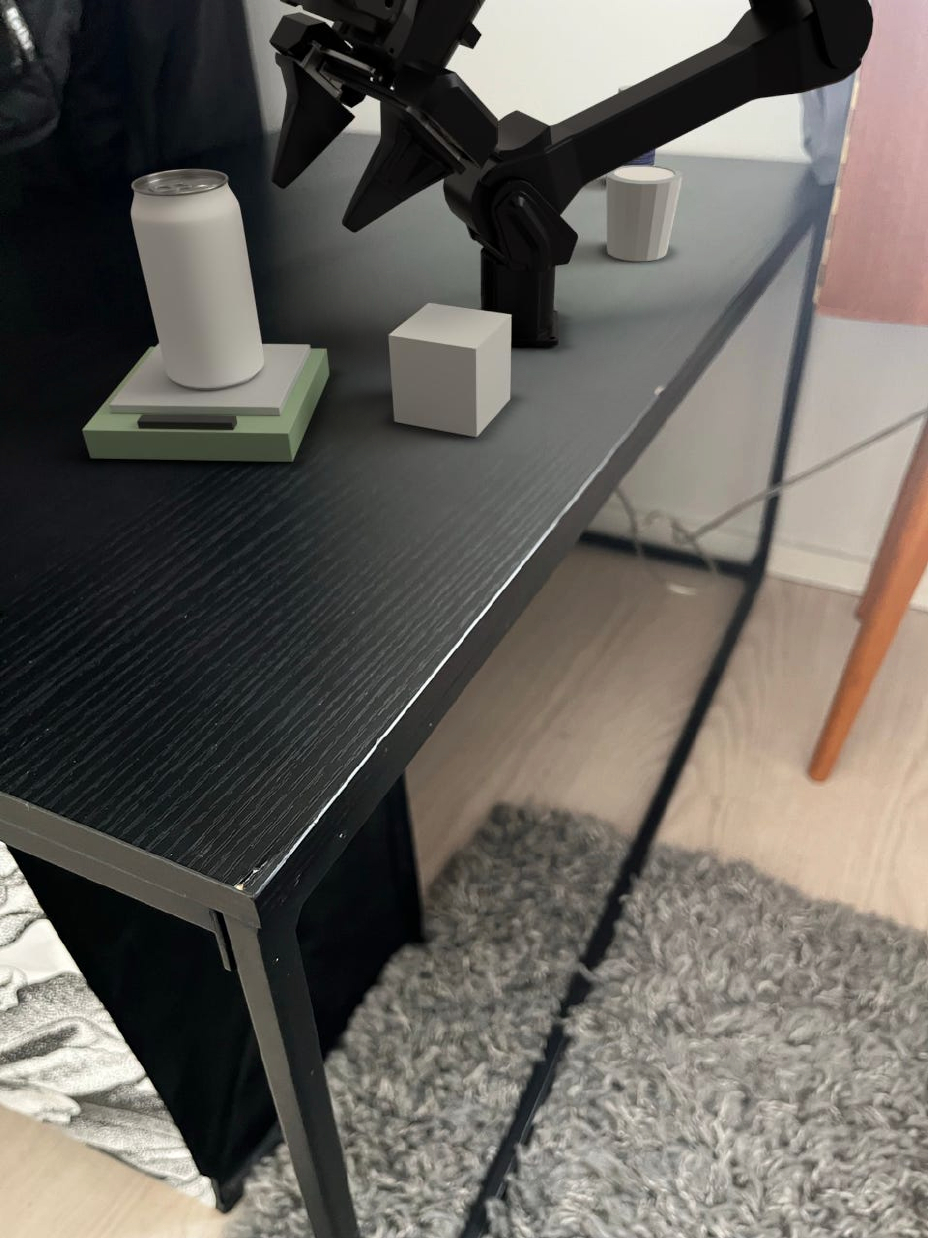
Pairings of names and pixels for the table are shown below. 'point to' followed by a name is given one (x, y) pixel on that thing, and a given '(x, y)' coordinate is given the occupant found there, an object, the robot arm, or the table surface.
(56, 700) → the table surface
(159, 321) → the can
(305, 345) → the scale
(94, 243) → the table surface
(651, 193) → the white cup
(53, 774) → the table surface
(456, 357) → the white cube
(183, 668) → the table surface
